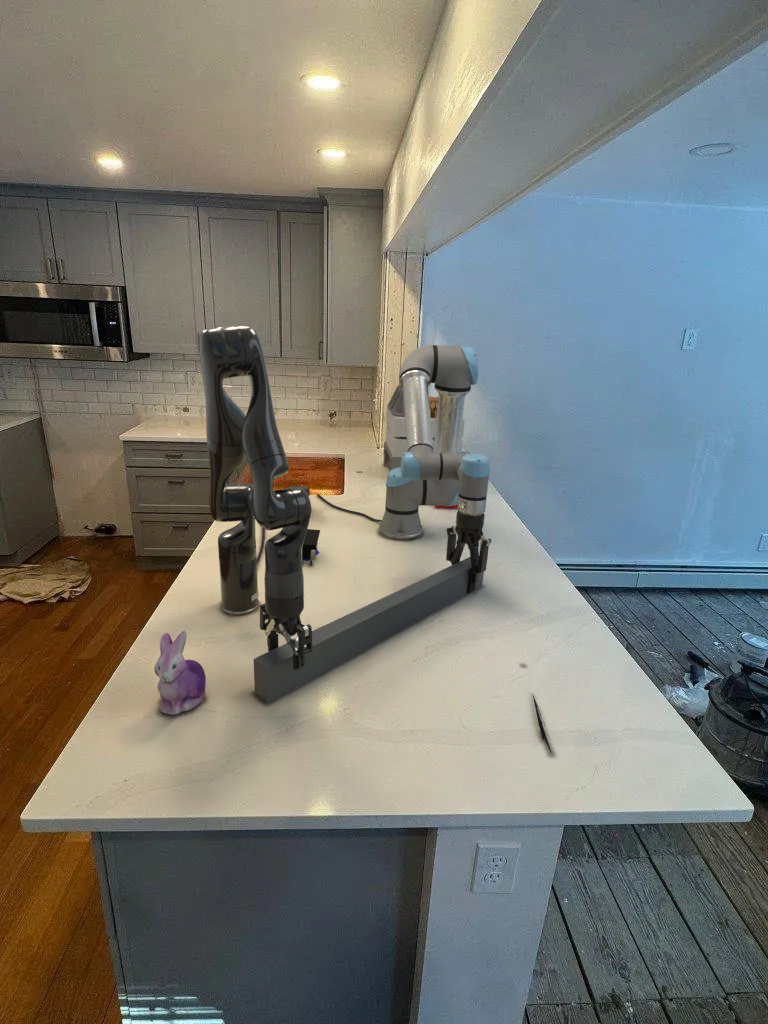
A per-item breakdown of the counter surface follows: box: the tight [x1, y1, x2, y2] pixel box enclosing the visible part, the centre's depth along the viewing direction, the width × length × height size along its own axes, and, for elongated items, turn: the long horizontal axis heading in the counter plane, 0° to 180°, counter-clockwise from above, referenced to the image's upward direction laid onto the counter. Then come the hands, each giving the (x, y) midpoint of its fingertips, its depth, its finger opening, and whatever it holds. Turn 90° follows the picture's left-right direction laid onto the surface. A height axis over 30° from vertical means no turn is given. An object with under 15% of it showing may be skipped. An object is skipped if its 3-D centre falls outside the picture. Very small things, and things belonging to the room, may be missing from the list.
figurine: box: [153, 630, 207, 716], centre depth 109 cm, size 9×10×15 cm
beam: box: [252, 556, 485, 704], centre depth 138 cm, size 75×5×8 cm, turn 137°
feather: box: [522, 663, 555, 753], centre depth 115 cm, size 2×28×2 cm
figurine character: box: [302, 528, 321, 566], centre depth 176 cm, size 7×8×15 cm
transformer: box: [383, 384, 465, 471], centre depth 268 cm, size 34×33×41 cm
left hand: (285, 659), depth 116 cm, fingers open, 8 cm apart
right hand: (463, 588), depth 161 cm, fingers closed on beam, 5 cm apart
